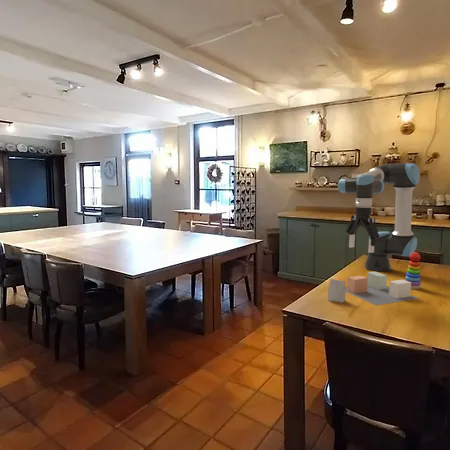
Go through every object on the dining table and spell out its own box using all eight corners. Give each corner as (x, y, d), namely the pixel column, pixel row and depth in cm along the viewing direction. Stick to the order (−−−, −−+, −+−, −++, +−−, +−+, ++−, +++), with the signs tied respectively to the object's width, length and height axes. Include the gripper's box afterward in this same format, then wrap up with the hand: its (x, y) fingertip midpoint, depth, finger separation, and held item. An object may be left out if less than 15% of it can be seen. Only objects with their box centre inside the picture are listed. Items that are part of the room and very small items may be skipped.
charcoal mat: (338, 289, 187) (338, 288, 187) (378, 283, 196) (378, 283, 196) (375, 306, 163) (375, 305, 162) (419, 299, 172) (419, 298, 172)
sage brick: (367, 285, 192) (367, 272, 191) (374, 284, 194) (375, 271, 193) (378, 289, 184) (379, 276, 183) (386, 288, 186) (386, 275, 185)
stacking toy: (401, 287, 190) (404, 252, 187) (406, 284, 195) (408, 249, 193) (418, 290, 184) (420, 254, 182) (422, 287, 190) (425, 252, 187)
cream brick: (397, 298, 171) (398, 284, 170) (389, 295, 176) (389, 281, 175) (410, 296, 174) (411, 282, 173) (401, 293, 179) (402, 279, 178)
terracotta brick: (354, 293, 178) (355, 279, 178) (347, 290, 183) (348, 277, 182) (367, 291, 181) (368, 278, 180) (360, 288, 186) (360, 275, 185)
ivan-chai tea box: (341, 303, 166) (342, 282, 164) (327, 300, 170) (328, 279, 169) (345, 301, 169) (346, 280, 167) (331, 298, 173) (332, 277, 172)
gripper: (340, 205, 187) (338, 245, 190) (376, 209, 164) (373, 255, 167) (352, 204, 190) (350, 244, 193) (389, 208, 167) (386, 254, 169)
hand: (360, 249), depth 180 cm, fingers open, 13 cm apart
